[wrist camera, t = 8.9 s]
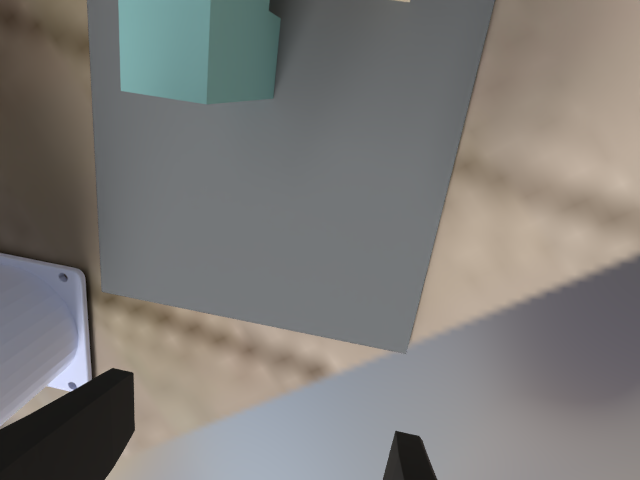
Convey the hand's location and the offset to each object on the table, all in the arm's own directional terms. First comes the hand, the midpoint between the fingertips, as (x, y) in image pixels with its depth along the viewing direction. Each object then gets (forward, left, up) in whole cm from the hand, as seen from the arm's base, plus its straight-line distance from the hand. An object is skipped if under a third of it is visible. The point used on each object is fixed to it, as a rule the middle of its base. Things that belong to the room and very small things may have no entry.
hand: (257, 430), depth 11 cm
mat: (-3, +7, -10) cm, 12 cm away
